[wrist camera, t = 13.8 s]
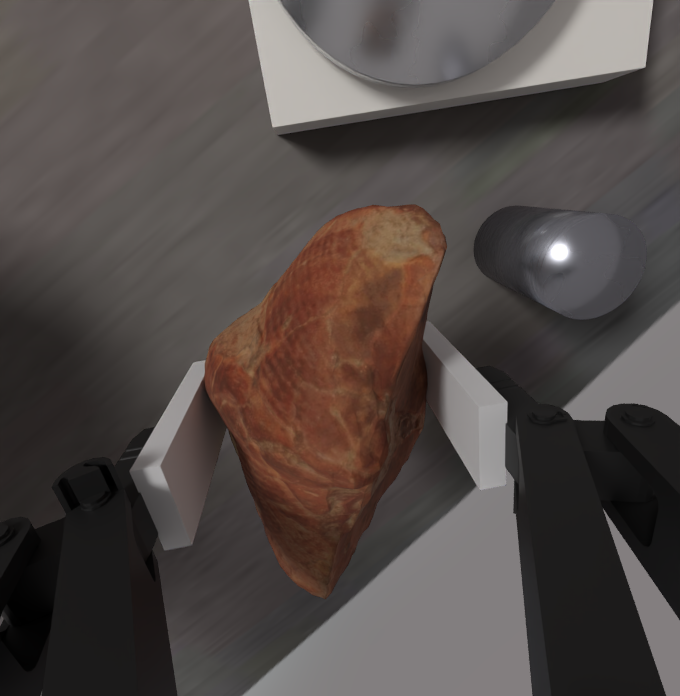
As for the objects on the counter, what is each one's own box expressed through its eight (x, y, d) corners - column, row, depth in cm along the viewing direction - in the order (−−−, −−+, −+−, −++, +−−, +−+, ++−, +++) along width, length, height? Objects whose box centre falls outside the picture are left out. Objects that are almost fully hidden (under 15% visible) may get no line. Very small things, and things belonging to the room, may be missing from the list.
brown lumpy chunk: (351, 110, 10) (538, 524, 5) (500, 244, 16) (663, 507, 10) (147, 360, 17) (133, 647, 12) (300, 393, 22) (337, 597, 17)
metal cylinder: (474, 286, 26) (540, 327, 18) (472, 212, 24) (545, 223, 17) (544, 275, 26) (639, 310, 18) (548, 199, 24) (654, 205, 17)
